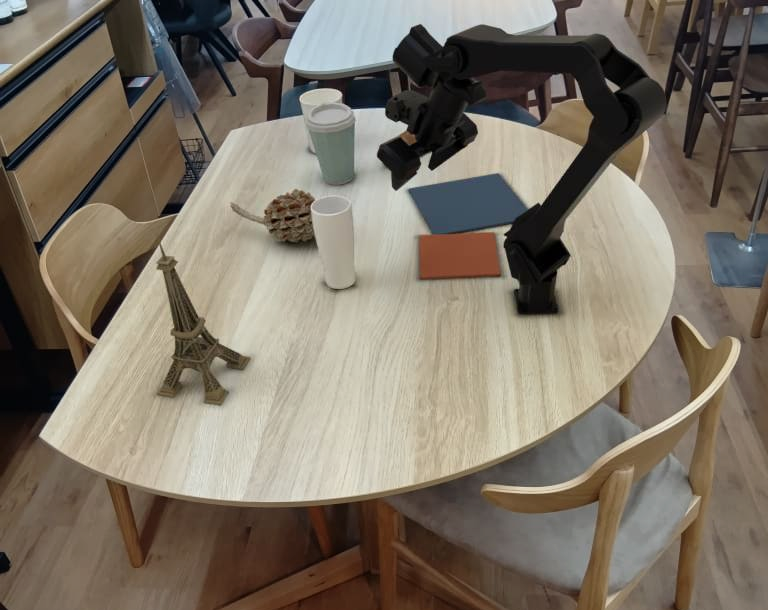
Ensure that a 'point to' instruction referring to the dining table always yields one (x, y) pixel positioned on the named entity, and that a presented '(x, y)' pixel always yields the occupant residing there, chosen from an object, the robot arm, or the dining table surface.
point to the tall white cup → (335, 239)
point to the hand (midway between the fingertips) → (412, 178)
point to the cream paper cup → (317, 103)
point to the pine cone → (286, 216)
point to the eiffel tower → (192, 340)
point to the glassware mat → (467, 204)
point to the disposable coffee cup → (333, 140)
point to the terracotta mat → (458, 255)
